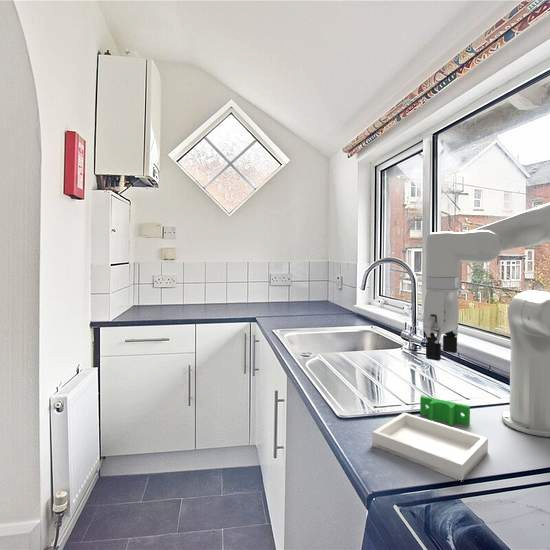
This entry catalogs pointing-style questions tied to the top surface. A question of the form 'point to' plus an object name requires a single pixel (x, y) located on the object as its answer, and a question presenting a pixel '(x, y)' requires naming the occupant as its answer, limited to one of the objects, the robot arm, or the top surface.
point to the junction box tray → (431, 444)
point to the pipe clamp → (445, 410)
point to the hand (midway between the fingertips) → (441, 355)
